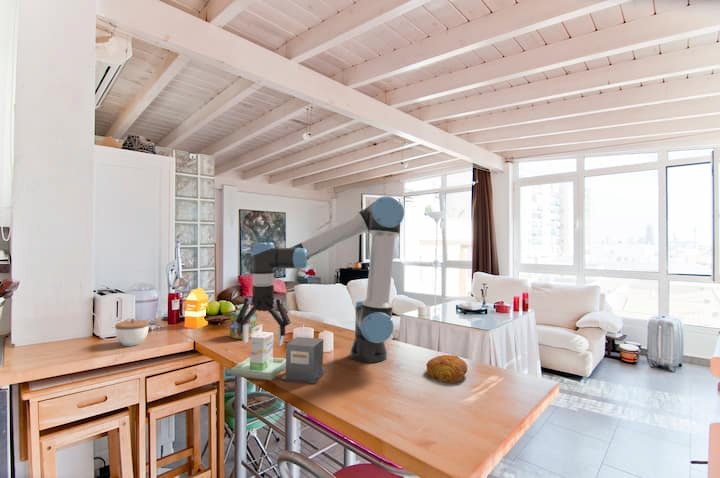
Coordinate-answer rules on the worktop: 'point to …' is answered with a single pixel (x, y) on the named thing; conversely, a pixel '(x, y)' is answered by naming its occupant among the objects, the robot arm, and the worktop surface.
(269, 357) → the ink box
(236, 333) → the floral tea caddy
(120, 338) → the lidded bowl
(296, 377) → the unit
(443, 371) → the brown rounded lump
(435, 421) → the worktop surface
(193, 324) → the orange juice
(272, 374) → the tray
